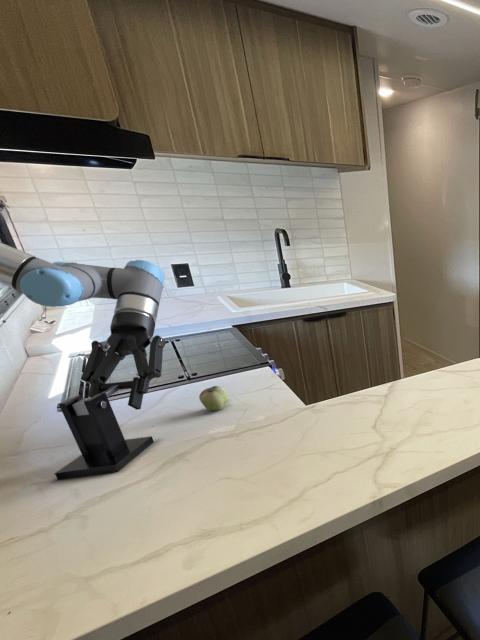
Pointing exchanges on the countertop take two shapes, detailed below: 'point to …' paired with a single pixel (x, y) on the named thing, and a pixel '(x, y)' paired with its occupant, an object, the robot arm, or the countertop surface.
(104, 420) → the black lever stand
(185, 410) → the countertop surface
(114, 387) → the lever
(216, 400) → the apple
